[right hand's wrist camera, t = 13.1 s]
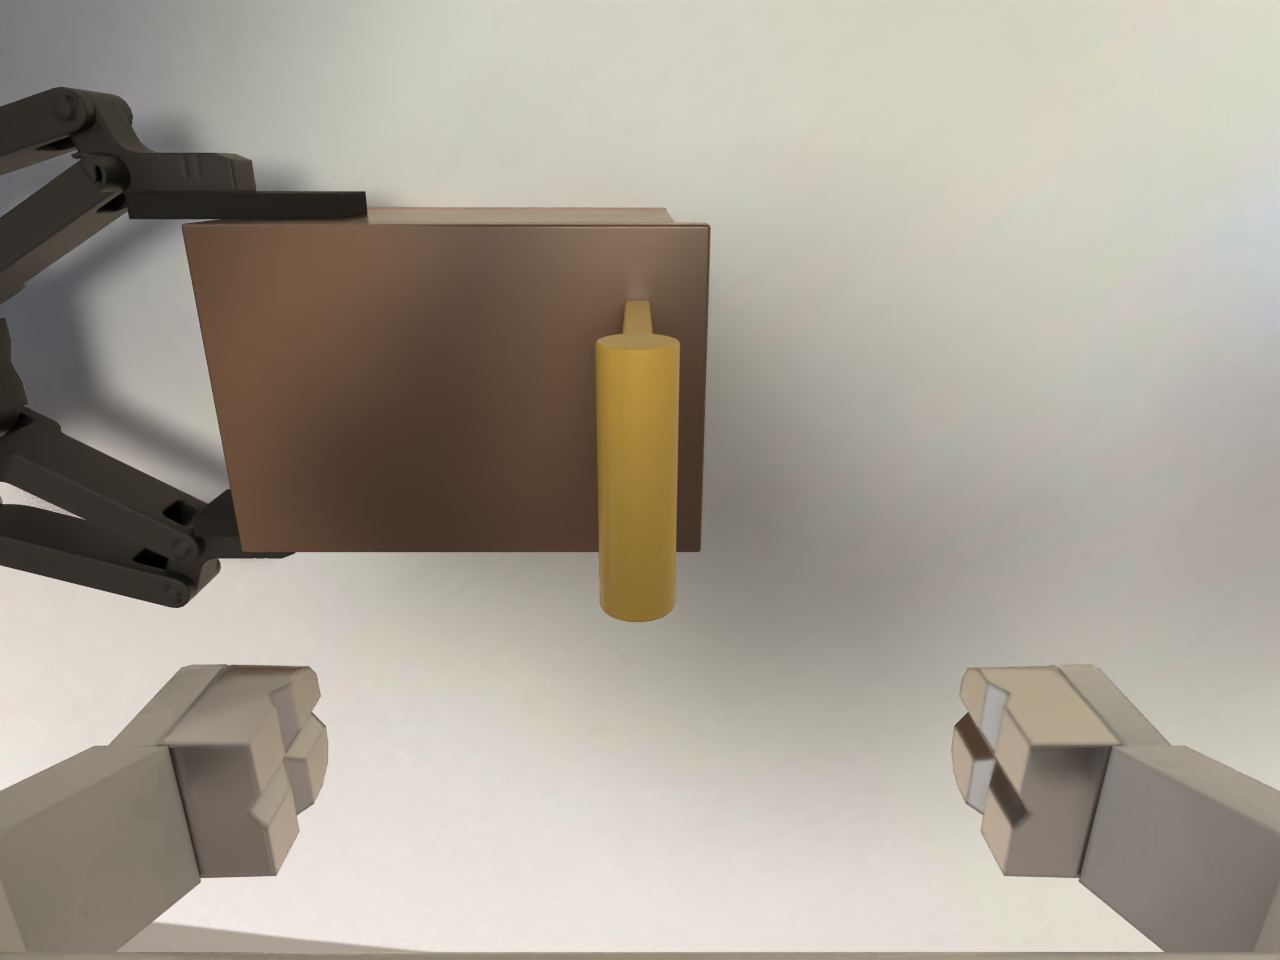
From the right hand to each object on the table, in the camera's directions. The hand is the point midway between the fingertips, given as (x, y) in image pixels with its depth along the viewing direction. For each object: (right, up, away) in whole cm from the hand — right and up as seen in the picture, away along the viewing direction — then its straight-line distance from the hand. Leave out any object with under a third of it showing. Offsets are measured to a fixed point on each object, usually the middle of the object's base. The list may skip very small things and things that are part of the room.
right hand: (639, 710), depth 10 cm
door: (-5, +6, +15) cm, 17 cm away
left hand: (-9, +7, +18) cm, 21 cm away
